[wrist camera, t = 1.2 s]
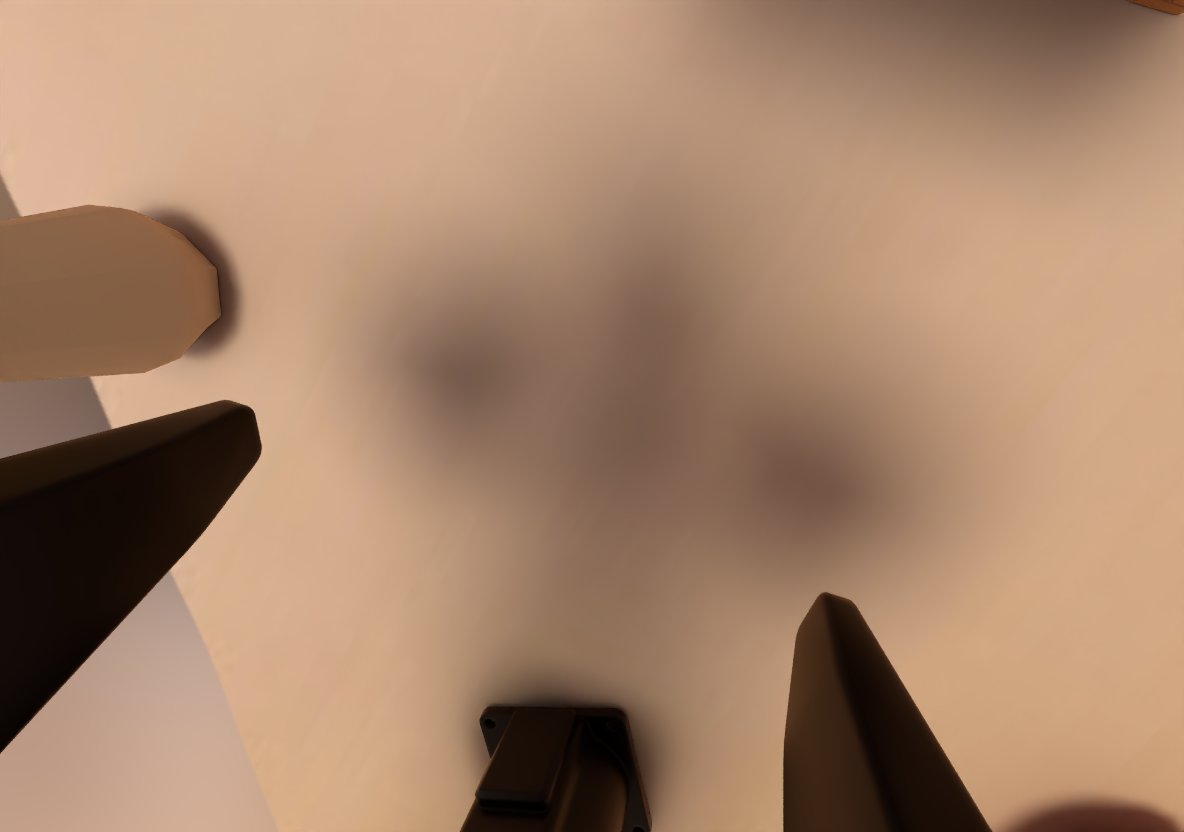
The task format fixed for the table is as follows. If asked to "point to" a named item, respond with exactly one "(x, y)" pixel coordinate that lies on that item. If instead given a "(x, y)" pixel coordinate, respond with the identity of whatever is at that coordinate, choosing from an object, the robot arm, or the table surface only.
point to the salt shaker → (98, 294)
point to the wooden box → (1163, 5)
